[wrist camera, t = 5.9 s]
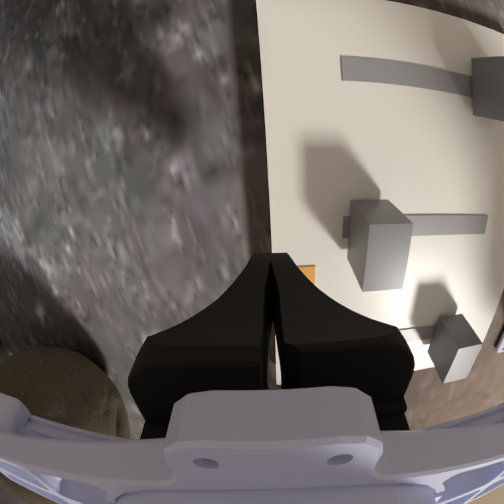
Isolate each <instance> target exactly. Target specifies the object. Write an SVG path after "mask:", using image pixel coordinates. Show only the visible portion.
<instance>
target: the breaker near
mask: <svg viewBox="0 0 504 504" xmlns="http://www.w3.org/2000/svg"><path fill="white" fill-rule="evenodd" d="M471 63H472V83H473V115H475V116H480V117H485V118H489V119H494V120H498V121H503V122H504V56H495V57H479V58H471Z"/></svg>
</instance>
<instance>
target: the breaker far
mask: <svg viewBox="0 0 504 504" xmlns="http://www.w3.org/2000/svg"><path fill="white" fill-rule="evenodd" d="M482 344H483V343H482V342H481V340H480V339H479V337H478V336H477V334H476V333H475V331H474V330H473V328H472V327H471V325H470V324H469V323H468V321H467V320H466V318H465V317H464V316H463V314H456V315H450V316H443V317H439V319H438V322H437V325H436V328H435V331H434V334H433V337H432V340H431V343H430V346H429V348H428V351H427V352H428V354H429V356H430V358H431V360H432V362H433V364H434V366H435V368H436V370H437V372H438V375H439V377H440V379H441V381H442V383H448V382H452V381H456V380H460V379H464V378H466V377H467V375H468V373H469V371H470V369H471V367H472V365H473V363H474V361H475V359H476V357H477V355H478V353H479V351H480V349H481V346H482Z"/></svg>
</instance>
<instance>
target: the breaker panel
mask: <svg viewBox="0 0 504 504" xmlns="http://www.w3.org/2000/svg"><path fill="white" fill-rule="evenodd" d="M256 7H257V19H258V31H259V44H260V57H261V71H262V85H263V99H264V114H265V130H266V146H267V163H268V181H269V200H270V220H271V241H272V253H285V252H287V253H288V254H289V255H290V257H291V258H292V260H293V261H294V263H295V264H296V265H297V266H298V268H299V269H300V270H301V271H302V272H303V273H304V275H305V276H306V277H307V278H308V279H309V280H310V281H311V282H312V283H313V284H314V285H315V286H316V287H317V288H318V289H320V290H321V291H322V292H324V293H325V294H326V295H328V296H329V297H330V298H332V299H333V300H335V301H336V302H338V303H340V304H341V305H343V306H345V307H347V308H349V309H350V310H352V311H355V312H357V313H359V314H361V315H363V316H366V317H368V318H371V319H373V320H376V321H380V322H383V323H386V324H389V325H393V326H396V327H398V329H399V331H400V332H401V334H402V335H403V337H404V338H405V340H406V342H407V343H408V345H409V347H410V350H411V352H412V354H413V356H414V361H415V367H414V370H420V369H425V368H430V367H435V366H434V364H433V362H432V360H431V358H430V356H429V354H428V352H427V351H428V348H429V346H430V343H431V340H432V337H433V334H434V331H435V328H436V325H437V322H438V319H439V317H443V316H450V315H456V314H463V316H464V317H465V318H466V320H467V321H468V323H469V324H470V325H471V327H472V328H473V330H474V331H475V333H476V334H477V336H478V337H479V339H480V340H481V342H482V343H483V340H484V338H485V336H486V333H487V331H488V329H489V326H490V324H491V322H492V319H493V317H494V314H495V311H496V309H497V306H498V303H499V301H500V298H501V295H502V292H503V289H504V122H503V121H498V120H494V119H489V118H485V117H480V116H475V115H473V83H472V63H471V58H479V57H495V56H504V34H502V33H500V32H497V31H495V30H492V29H490V28H487V27H484V26H482V25H479V24H476V23H473V22H470V21H467V20H464V19H461V18H458V17H455V16H451V15H448V14H445V13H441V12H437V11H434V10H430V9H426V8H421V7H417V6H413V5H408V4H403V3H398V2H393V1H387V0H256ZM378 199H388V200H389V201H390V202H391V203H392V204H393V205H394V206H395V207H396V208H398V209H399V210H400V211H401V212H402V213H403V214H404V215H405V216H406V217H407V218H408V219H409V220H410V221H411V222H412V223H413V230H412V237H411V244H410V250H409V256H408V262H407V268H406V273H405V278H404V284H403V289H393V290H381V291H367V292H362V290H361V288H360V286H359V283H358V281H357V279H356V277H355V274H354V272H353V270H352V268H351V266H350V264H349V261H348V259H347V251H348V236H349V218H350V200H378ZM275 346H276V383H277V385H281V371H280V362H279V355H278V349H277V342H276V336H275Z"/></svg>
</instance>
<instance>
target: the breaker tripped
mask: <svg viewBox="0 0 504 504" xmlns="http://www.w3.org/2000/svg"><path fill="white" fill-rule="evenodd" d="M412 230H413V223H412V222H411V221H410V220H409V219H408V218H407V217H406V216H405V215H404V214H403V213H402V212H401V211H400V210H399V209H398V208H396V207H395V206H394V205H393V204H392V203H391V202H390V201H389V200H388V199H378V200H350V218H349V236H348V251H347V259H348V261H349V264H350V266H351V268H352V270H353V272H354V274H355V277H356V279H357V281H358V283H359V286H360V288H361V290H362V292H367V291H381V290H393V289H403V284H404V278H405V273H406V268H407V262H408V256H409V250H410V244H411V237H412Z"/></svg>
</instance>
